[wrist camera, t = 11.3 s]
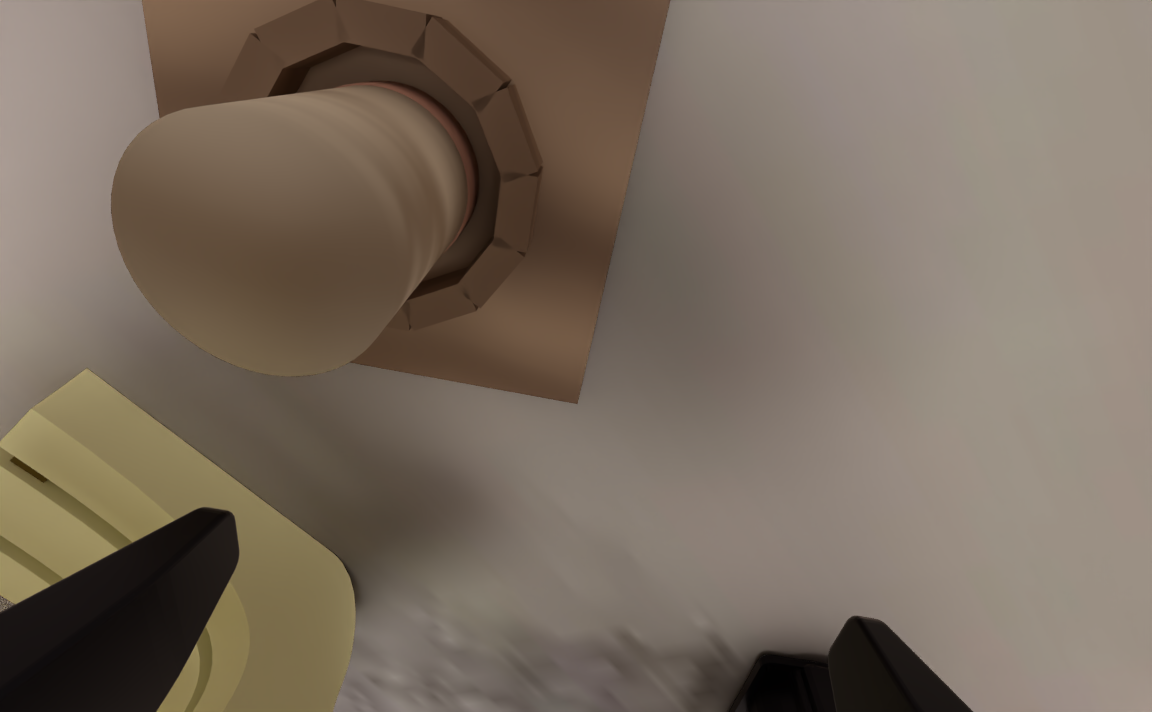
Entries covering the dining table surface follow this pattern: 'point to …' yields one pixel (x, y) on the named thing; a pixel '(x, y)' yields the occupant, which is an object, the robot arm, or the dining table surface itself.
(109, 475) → the slatted curved stool
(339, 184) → the beige rounded peg
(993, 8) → the dining table surface
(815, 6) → the dining table surface
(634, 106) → the walnut socket
